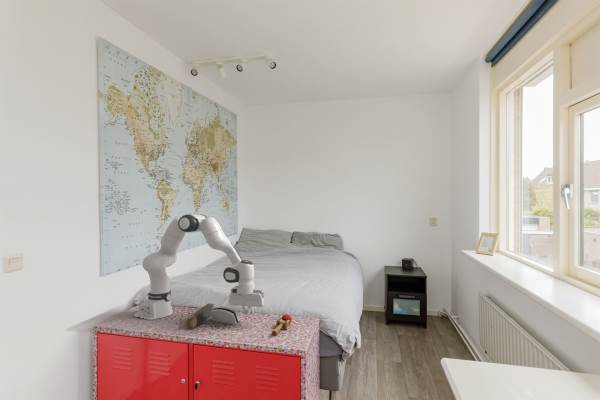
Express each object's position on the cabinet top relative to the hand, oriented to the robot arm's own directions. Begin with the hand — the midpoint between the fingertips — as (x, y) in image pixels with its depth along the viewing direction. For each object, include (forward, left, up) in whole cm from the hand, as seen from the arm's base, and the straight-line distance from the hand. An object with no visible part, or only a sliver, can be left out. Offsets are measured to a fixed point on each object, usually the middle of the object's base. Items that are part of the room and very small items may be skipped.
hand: (246, 313), depth 172 cm
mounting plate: (-25, -1, -6) cm, 26 cm away
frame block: (-28, -1, -6) cm, 28 cm away
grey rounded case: (-13, 0, -6) cm, 15 cm away
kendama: (+22, -3, -6) cm, 23 cm away
